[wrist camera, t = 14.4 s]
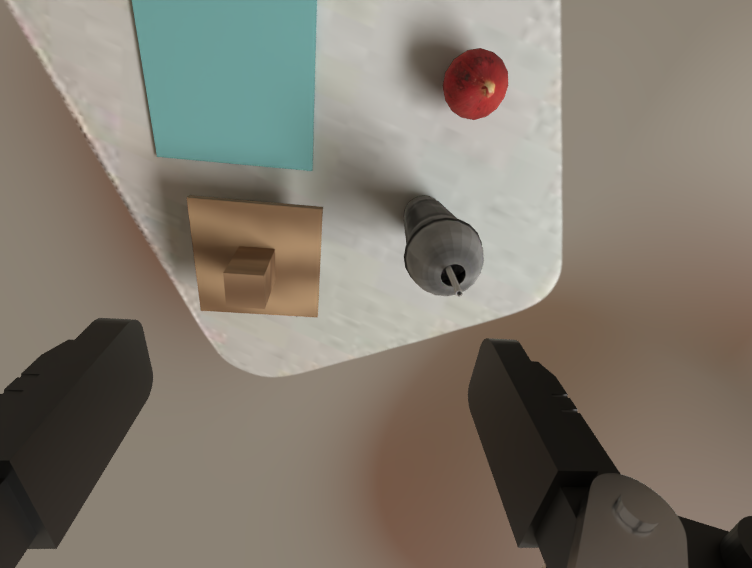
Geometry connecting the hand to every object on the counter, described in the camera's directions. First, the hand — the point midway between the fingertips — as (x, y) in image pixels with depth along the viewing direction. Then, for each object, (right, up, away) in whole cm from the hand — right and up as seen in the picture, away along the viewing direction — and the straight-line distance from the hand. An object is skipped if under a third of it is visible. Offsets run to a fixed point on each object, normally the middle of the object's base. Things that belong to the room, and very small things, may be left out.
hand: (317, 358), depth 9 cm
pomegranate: (+10, +22, +30) cm, 39 cm away
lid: (-11, +4, +32) cm, 35 cm away
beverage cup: (+7, +10, +36) cm, 38 cm away
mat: (-13, +22, +28) cm, 38 cm away
